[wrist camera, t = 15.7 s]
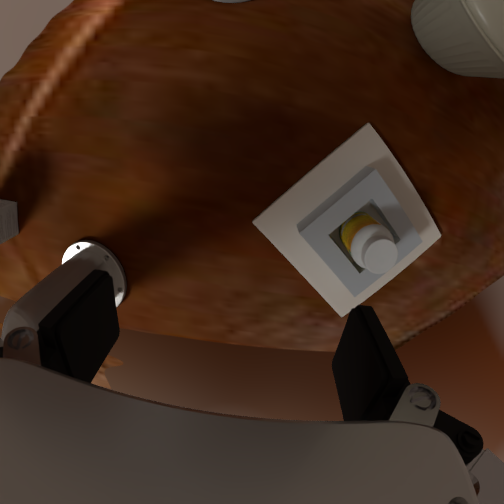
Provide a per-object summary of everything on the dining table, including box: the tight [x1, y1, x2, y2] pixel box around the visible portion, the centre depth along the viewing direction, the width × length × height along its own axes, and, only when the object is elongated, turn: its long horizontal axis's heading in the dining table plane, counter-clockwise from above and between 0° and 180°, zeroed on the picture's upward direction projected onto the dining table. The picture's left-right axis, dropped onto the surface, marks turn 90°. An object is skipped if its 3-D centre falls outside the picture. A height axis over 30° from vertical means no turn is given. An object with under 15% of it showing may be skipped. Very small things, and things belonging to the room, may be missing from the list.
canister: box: [411, 0, 504, 78], centre depth 16 cm, size 18×18×21 cm
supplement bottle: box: [339, 211, 398, 274], centre depth 33 cm, size 5×5×10 cm
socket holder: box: [252, 123, 441, 317], centre depth 36 cm, size 20×20×4 cm
